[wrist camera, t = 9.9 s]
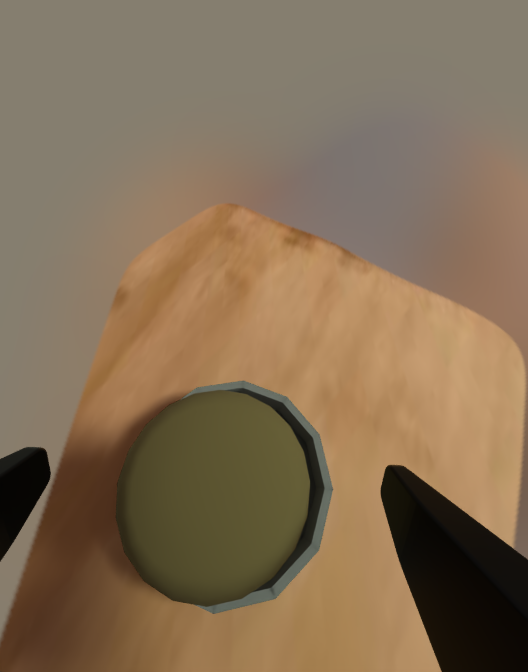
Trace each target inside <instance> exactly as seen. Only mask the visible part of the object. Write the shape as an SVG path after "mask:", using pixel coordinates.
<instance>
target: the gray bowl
mask: <svg viewBox="0 0 528 672" xmlns="http://www.w3.org/2000/svg"><path fill="white" fill-rule="evenodd" d="M215 390H225V391H231V392H237V393H243V394H247V395H249V396H251V397H253V398H255V399H257V400H259V401H261V402H263V403H265V404H267V405H269V406H270V407H272V408H273V409H274V410H275V411H276V412H277V413H278V414H279V415H280V416H281V417H282V418H283V419H284V420H285V421H286V422H287V423H288V424H289V425H290V427H291V429H292V430H293V432H294V434H295V436H296V438H297V440H298V442H299V444H300V445H301V447H302V449H303V451H304V455H305V460H306V465H307V470H308V474H309V479H310V491H309V504H308V516H307V519H306V522H305V524H304V527H303V530H302V532H301V535H300V538H299V540H298V543H297V546H296V549H295V550H294V551H293V553H292V554H291V555H290V557H289V558H288V559H287V561H286V562H285V563H284V564H283V566H282V567H281V568H280V570H279V571H278V572H277V574H276V575H275V576H274V578H272V579H271V580H269V581H268V582H266V583H265V584H263V585H262V586H260V587H259V588H257V589H256V590H254V591H253V592H251V593H250V594H248V595H247V596H245V597H244V598H242V599H239V600H235V601H231V602H226V603H222V604H217V605H213V606H208V607H205V606H200V605H196V606H198V607H200V608H202V609H205V610H207V611H209V612H211V613H213V614H215V613H219V612H223V611H227V610H231V609H236V608H240V607H244V606H248V605H252V604H256V603H260V602H264V601H269V600H273V599H276V598H277V597H278V595H279V594H280V593H281V592H282V591H283V590H284V589H285V588H286V586H287V585H288V584H289V583H290V582H291V581H292V580H293V579H294V578H295V576H296V575H297V574H298V573H299V572H300V571H301V570H302V569H303V568H304V566H305V565H306V564H307V563H308V562H309V561H310V560H311V559H312V557H313V556H314V555H315V554H316V553H317V552H318V551H319V548H320V544H321V539H322V535H323V530H324V526H325V522H326V517H327V513H328V509H329V504H330V500H331V496H332V491H333V487H332V483H331V479H330V475H329V471H328V467H327V463H326V459H325V455H324V451H323V447H322V443H321V439H320V434H319V433H318V432H317V431H316V430H315V429H314V428H313V426H312V425H311V424H310V423H309V422H308V421H307V420H306V418H305V417H304V416H303V415H302V414H301V413H300V411H299V410H298V409H297V408H296V407H295V406H294V405H293V403H292V402H291V401H290V400H289V399H288V398H287V397H286V396H283V395H280V394H278V393H275V392H272V391H270V390H267V389H264V388H262V387H259V386H256V385H254V384H251V383H248V382H246V381H238V382H231V383H224V384H218V385H211V386H204V387H198V388H196V389H194V390H193V391H192V392H190V393H189V394H187V395H186V396H185V397H183V398H186V397H188V396H190V395H192V394H194V393H201V392H208V391H215ZM183 398H182V399H183Z"/></svg>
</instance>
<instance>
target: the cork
mask: <svg viewBox="0 0 528 672" xmlns="http://www.w3.org/2000/svg"><path fill="white" fill-rule="evenodd" d="M309 491H310V479H309V474H308V470H307V465H306V460H305V455H304V451H303V449H302V447H301V445H300V444H299V442H298V440H297V438H296V436H295V434H294V432H293V430H292V429H291V427H290V425H289V424H288V423H287V422H286V421H285V420H284V419H283V418H282V417H281V416H280V415H279V414H278V413H277V412H276V411H275V410H274V409H273V408H272V407H270V406H269V405H267V404H265V403H263V402H261V401H259V400H257V399H255V398H253V397H251V396H249V395H247V394H243V393H237V392H231V391H225V390H215V391H208V392H201V393H194V394H192V395H190V396H188V397H186V398H183V399H181V400H179V401H177V402H175V403H173V404H170V405H169V406H167V407H166V408H165V409H164V410H163V411H162V412H160V413H159V414H158V415H157V416H156V417H155V418H153V419H152V420H151V421H150V422H149V423H148V424H146V426H145V427H144V429H143V430H142V432H141V433H140V435H139V436H138V438H137V439H136V441H135V442H134V443H133V445H132V446H131V448H130V449H129V451H128V454H127V457H126V460H125V462H124V465H123V468H122V471H121V474H120V477H119V480H118V483H117V503H116V521H117V525H118V529H119V533H120V537H121V540H122V544H123V548H124V552H125V554H126V555H127V557H128V558H129V560H130V561H131V563H132V564H133V565H134V567H135V568H136V570H137V571H138V573H139V574H140V576H141V577H142V579H143V580H144V581H145V582H146V583H147V584H149V585H150V586H152V587H153V588H155V589H156V590H158V591H159V592H161V593H162V594H164V595H165V596H167V597H168V598H170V599H171V600H173V601H178V602H183V603H189V604H194V605H200V606H205V607H208V606H213V605H217V604H222V603H226V602H231V601H235V600H239V599H242V598H244V597H245V596H247V595H248V594H250V593H251V592H253V591H254V590H256V589H257V588H259V587H260V586H262V585H263V584H265V583H266V582H268V581H269V580H271V579H272V578H274V576H275V575H276V574H277V572H278V571H279V570H280V568H281V567H282V566H283V564H284V563H285V562H286V561H287V559H288V558H289V557H290V555H291V554H292V553H293V551H294V550H295V549H296V546H297V543H298V540H299V538H300V535H301V532H302V530H303V527H304V524H305V522H306V519H307V516H308V504H309Z"/></svg>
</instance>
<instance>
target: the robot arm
mask: <svg viewBox="0 0 528 672" xmlns="http://www.w3.org/2000/svg"><path fill="white" fill-rule="evenodd" d="M50 475H51V472H50V466H49V462H48V457H47V452H46V450H45V449H44V448H39V447H26V448H23V449H21V450H19V451H17V452H15V453H12V454H10V455H8V456H6V457H4V458H1V459H0V561H1V560H2V558H3V557H4V555H5V554H6V552H7V551H8V549H9V548H10V546H11V545H12V543H13V542H14V540H15V539H16V537H17V535H18V534H19V532H20V530H21V529H22V527H23V525H24V523H25V522H26V520H27V518H28V517H29V515H30V513H31V512H32V510H33V508H34V506H35V505H36V503H37V501H38V499H39V498H40V496H41V494H42V493H43V491H44V489H45V488H46V486H47V484H48V482H49V480H50ZM381 499H382V502H383V506H384V509H385V513H386V517H387V520H388V524H389V527H390V531H391V534H392V538H393V541H394V545H395V548H396V552H397V555H398V558H399V561H400V564H401V567H402V570H403V573H404V575H405V578H406V580H407V583H408V586H409V588H410V591H411V593H412V596H413V599H414V601H415V604H416V606H417V609H418V611H419V614H420V617H421V619H422V622H423V624H424V627H425V630H426V632H427V635H428V637H429V640H430V643H431V645H432V648H433V650H434V653H435V656H436V658H437V661H438V663H439V666H440V669H441V671H442V672H528V560H527V559H526V558H525V557H524V556H522V555H521V554H520V553H518V552H517V551H516V550H514V549H513V548H512V547H510V546H509V545H508V544H506V543H505V542H504V541H503V540H501V539H500V538H499V537H497V536H496V535H495V534H493V533H492V532H491V531H489V530H488V529H487V528H485V527H484V526H483V525H481V524H480V523H479V522H477V521H476V520H475V519H473V518H472V517H471V516H469V515H468V514H467V513H465V512H464V511H463V510H461V509H460V508H459V507H458V506H456V505H455V504H454V503H452V502H451V501H450V500H448V499H447V498H446V497H444V496H443V495H442V494H440V493H439V492H438V491H436V490H435V489H434V488H432V487H431V486H430V485H428V484H427V483H426V482H424V481H423V480H422V479H420V478H419V477H418V476H416V475H415V474H414V473H412V472H411V471H410V470H409V469H407V468H406V467H404V466H401V465H388V466H387V467H386V469H385V473H384V477H383V481H382V486H381Z"/></svg>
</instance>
